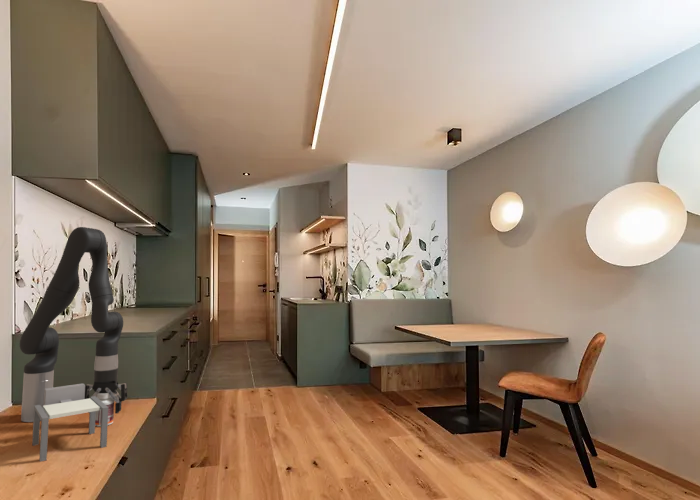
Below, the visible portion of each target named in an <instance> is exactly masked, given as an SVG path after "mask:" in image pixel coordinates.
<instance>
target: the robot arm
mask: <svg viewBox="0 0 700 500" xmlns="http://www.w3.org/2000/svg"><path fill="white" fill-rule="evenodd" d="M85 253H88V254H89V256H90V258H91V263H92V265H91V266H92V267H91V272H90V275H89V279H88V291H89V295H90V300H91V316H90V323H91V326H92V327H93V329H94V330H95V331H96V332H97V333H103V334H104V335H103V336H102V337H101V338H100V339H98V340H97V341H96V342H95V359H94V366H93V368H94V369H93V370H94V371H93V384H91V383H87V384H86V385H85V399H89V398H90V397H93V396H97V394H99V393H108V394H109V395H110V396H111V398H113V399H114V410H115V411H114V415H115V414H119V413H120V412H121V411H122V402H124V401H126V400H127V399H128V383H127V382H124V383H119V382H118V380H119V379H118V378H119V377H118V375H119V355H118V353H119V341H120V339H121V335H122V332H123V328H124V318H123V315H122V314H121V313H120V312H118V311H109V306H110V305H112V304H114V301H115V300H114V294H113V289H112V286H111V280H110V276H109V264H108V243H107V238H106V234H105V233H104V232H103V231H102V230H100V229H97V228H93V227H91V228H90V227H84V226H78V227H76V228H74V229H73V230H72V231H71V233H70V234H69V236H68V238H67V241H66V243H65V247H64V249H63V253H62V255H61V257H60V259H59V260H60V261H59V263H58V266H57V268H56V269H55V272H54V274H53V275H52V278H51V280H50V282H49V284H48V286H47V288H46V291H45V292H44V295H43V297H42V300H41V301H40V304H39V305H38V307H37V309H36V311H35V313H34V315H33V316H32V318H31V320H30V321H29V322H28V324H27V326H26V327H25V329H24V331H23V332H22V334H21V337H20V340H19V349H20V351H21V352H22V353H23V354H24V355H34V357H33V358H32V360H30V361H29V362H27V363H26V364H25V365H24V367H23V382H22V397H21V398H22V399H21V401H22V402H21V411H20V413H21V414H20V415H21V416H20V421H21V422H24V423H33V421H34V405H41V407H42V408H43V406H44V391H45V389H46V388H53V387H54V377H55V376H54V375H55V373H54V372H55V366H56V364H57V361H58V352H59V345H60V337H59V333H58V331H57V330H56V329H55V328H53V327H51V324H52V322H53V321H55V319H56V318H58V317H59V316H60V315H61V314H62V313H63V312H64V311H65V310H67V308H68V307H69V306H70V305H71V304H72V303H73V301H74V299H75V296H76V295H77V292H78V290H79V288H80V275H79V265H80V262H81V261H82V258H83V256H84V254H85ZM118 388H119V389H118ZM117 389H118V390H120V393H119V392H118V390H117ZM92 390H93V391H94V393H93V394H92V395H91V396H90V394H91V391H92ZM89 413H90V412H88V414H89ZM40 422H42V421H41V419H40Z"/></svg>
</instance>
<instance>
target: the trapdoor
mask: <svg viewBox="0 0 700 500" xmlns="http://www.w3.org/2000/svg"><path fill="white" fill-rule="evenodd" d="M99 409H100V407H99V406H98V405H97V404H96V403H95V402H93V401H92V400H91V399H90V397H89V399H85V383H77V384H70V385H61V386H56V387H54V386H53V388H46V389H45V391H44V406H43V410H44V411H45V413H46V414H47V416H48V417H49V420H52V419H58V418H64V417H69V416H74V415H81V414H86V413H89V412H93V411H99Z"/></svg>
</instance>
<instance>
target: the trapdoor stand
mask: <svg viewBox="0 0 700 500" xmlns="http://www.w3.org/2000/svg"><path fill="white" fill-rule="evenodd" d="M92 396H93V395H92ZM92 396H89V398H90V399H91V400H92V401H93V402H95V403H96V404H97V405H98V406H99V407H100V409H101V410H102V413H101V427H100V435H99V437H100V440H99V447H100V448H101V449H102V448H107V445H108V443H107V442H108V440H107V439H108V426H109V425H108V407H107V406H106V405H105V404H104V403H103V402H102V401H100V400H99V399H98V398H97V397H96V396H93V397H92ZM88 414H89V416H88V417H89V418H88V419H89V420H88V434H89V435H92V434H95V432H96V426H95V415H96V411H93V412H90V413H89V412H88ZM40 419H41V421H40ZM49 420H50V419H49V417H48V416H47V414H46V413H45V411H44V410H43V408H42V407H41V405H34V421H33V422H32V423H33V424H32V440H31V443H32V445H31V446H32V447H34V446H38V445H39V444H40V446H39V462H41V463H42V462H44V461H47V459H48V458H47V457H48V455H47V454H48V440H49Z"/></svg>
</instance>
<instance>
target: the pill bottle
mask: <svg viewBox="0 0 700 500" xmlns="http://www.w3.org/2000/svg"><path fill="white" fill-rule="evenodd" d="M96 397H97V398H98V399H99V400H100V401H102V402H103V403H104V404H105V405H106V406H107V407H108V426H110V425H112V424H113V423H114V415H115V411H114V410H115V400H114V399H113V398H112V397H111V396H110V395H109V394H108V393H99V394H97V396H96ZM101 413H102V410H101V409H99V411H96V415H95V427H97V428H98V427H99V428H101Z"/></svg>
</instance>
